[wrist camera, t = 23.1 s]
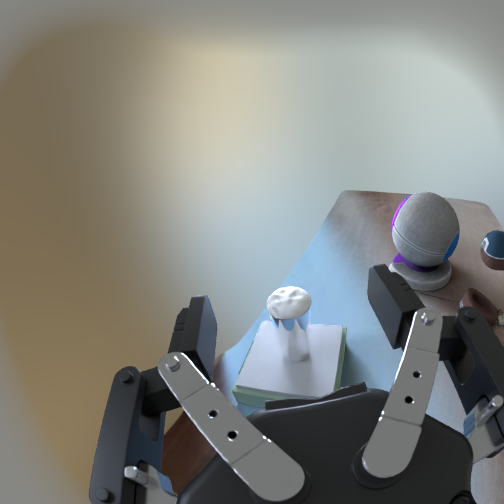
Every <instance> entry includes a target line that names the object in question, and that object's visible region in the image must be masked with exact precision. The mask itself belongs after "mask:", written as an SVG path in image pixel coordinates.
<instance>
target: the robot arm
mask: <svg viewBox="0 0 504 504" xmlns="http://www.w3.org/2000/svg"><path fill="white" fill-rule="evenodd" d="M367 293H368V300H369V303H370V305H371V306H372V308H373V310H374V312H375V314H376V316H377V318H378V320H379V322H380V324H381V326H382V328H383V330H384V332H385V334H386V336H387V338H388V340H389V342H390V344H391V346H392V348H393V349H397V348H400V347H401V348H402V350H403V352H404V353H403V356H402V359H401V362H400V365H399V368H398V371H397V374H396V377H395V380H394V382H393V385H392V388H391V390H390V393H389V392H387V391H384V390H380V389H373V388H367V387H366V384H365V382H362V383H358V384H354V385H350V386H346V387H342V388H339V389H337V390H335V391H333V392H331V393H329V394H326V395H324V396H322V397H319V398H315V399H313V398H291V397H290V398H283V399H276V400H268V401H265V408H263V409H260V410H258V411H256V412H254V413H252V414H251V415H249V416H248V417H247V418H245V417H244V416H243V415H242V414H241V413H240V412H239V411H238V410H237V409H236V408H235V407H234V406H233V405H232V403H231V402H230V401H229V400H228V399H227V398H226V397H225V396H224V395H223V394H222V393H221V392H220V391H219V390H218V389H217V387H216V386H215V385H214V384H213V383H212V381H213V369H214V358H215V347H216V336H217V322H216V318H215V316H214V312H213V309H212V307H211V303H210V301H209V298H208V296H207V295H202V296H195V297H192V298H191V301H190V305H189V308H183V309H182V310H181V312H180V313H179V314H178V316H177V319H176V325H175V327H174V332H173V335H172V339H171V343H170V347H169V351H168V354H167V355H165V356H164V357H163V358H162V359H161V360H160V361H159V363H158V366H157V367H155V368H153V369H149V370H146V371H143V372H140V371H139V370H138V368H136V367H133V366H128V367H125V368H122V369H121V370H120V371H118V372H117V373H116V375H115V377H114V380H113V383H112V386H111V391H110V394H109V398H108V401H107V405H106V409H105V413H104V417H103V421H102V426H101V430H100V435H99V439H98V444H97V448H96V453H95V458H94V464H93V469H92V475H91V482H90V488H89V498H90V501H91V503H92V504H476V502H475V500H474V498H473V496H472V494H471V484H470V483H471V471H472V466H473V464H475V463H477V462H478V461H480V460H482V459H484V458H492V457H494V456H495V455H497V454H498V453H500V452H501V451H503V450H504V347H503V345H502V344H501V342H500V341H499V339H498V338H497V336H496V335H495V333H494V331H493V330H492V328H491V327H490V326H489V324H488V323H487V321H486V320H485V318H484V317H483V315H482V314H481V313H480V311H479V310H477V309H476V308H474V307H471V306H464V307H461V308H460V309H459V310H458V313H457V315H456V316H442V315H441V314H440V313H439V312H438V311H437V310H435V309H433V308H427V307H425V306H424V304H423V303H422V302H421V300H420V299H419V297H418V296H417V295H416V293H415V292H414V291H413V290H412V288H411V287H410V285H409V284H408V282H407V281H406V280H405V279H404V277H403V276H401V275H400V274H398V273H397V272H391V271H390V270H389V269H388V267H387V266H386V265H385V264H380V265H375V266H370V268H369V277H368V290H367ZM470 353H471V354H470ZM438 361H443V362H444V364H445V366H446V368H447V370H448V373H449V375H450V377H451V379H452V381H453V384H454V386H455V388H456V390H457V393H458V395H459V397H460V400H461V402H462V405H463V407H464V410H465V412H466V415H467V416H466V418H465V420H464V424H463V426H464V435H463V434H461V433H460V432H458V431H456V430H454V429H453V428H451V427H449V426H447V425H445V424H443V423H442V422H440V421H438V420H436V419H435V418H433V417H431V416H429V415H427V414H426V410H427V406H428V403H429V399H430V395H431V392H432V388H433V384H434V380H435V375H436V371H437V366H438ZM179 407H183V409H184V410H185V412H186V413H187V414H188V416H189V417H190V418H191V420H192V421H193V422H194V424H195V425H196V426H197V427H198V429H199V430H200V431H201V433H202V434H203V435H204V436H205V438H206V439H207V440H208V441H209V442H210V444H211V445H212V446H213V447H214V448H215V450H216V451H217V452H216V453H215V454H214V455H213V456H212V457H211V458H210V459H209V461H208V462H207V463H206V464H205V465H204V466H203V467H202V468H201V469H200V470H199V472H198V473H197V474H196V475H195V476H194V477H193V478H192V479H191V480H190V481H189V482H188V483H187V484H186V485H185V486H184V487H183V488H182V490H181V491H180V492H179V494H178V496H176V495H175V494H174V493H173V491H172V487H171V482H170V479H169V478H168V477H167V476H166V475H165V474H164V473H162V472H161V459H162V447H163V436H164V426H165V415H166V411H169V410H173V409H176V408H179Z"/></svg>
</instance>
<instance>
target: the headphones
mask: <svg viewBox="0 0 504 504" xmlns="http://www.w3.org/2000/svg"><path fill="white" fill-rule="evenodd" d="M480 247H481V257H482V260H483V262H484V263H485V264H486V266H488V267H489V268H491V269H494V270H504V232H502V231H492V232H490V233H488V234H487V235H486V236H485V238H484V239H483V241H482V244H481V246H480ZM420 294H422V293H420ZM425 295H427V294H425ZM429 296H431V295H429ZM434 297H435V296H434ZM437 298H438V297H437ZM440 299H442V298H440ZM444 300H446V299H444ZM448 301H450V300H448ZM453 302H455V301H453ZM458 303H459V302H458ZM459 305H460V307H464V306H471V307H474V308H476V309H477V310H479V311H480V313H481V314H482V315H483V317H484V318H485V320H486V321H487V323H488V324H489V326H492V325H493V324H494V323H496V322H498V323H499V325H504V314H502V315H501V316H499V317H498V312H499V311H500V310H499V311H498V312H497V310H496V308H495V306H494V305H493V304H492V303H491V302H490V300H489V299H487V297H485V296H484V295H483V294H482V293H481V292H479V291H477V290H476V289H474V288H469V289H468V290H467V291H466V293H465V294H464V296H463V298H462V301H461V304H459ZM501 312H502V310H501ZM496 320H498V321H496Z"/></svg>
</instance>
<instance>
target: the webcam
mask: <svg viewBox="0 0 504 504" xmlns="http://www.w3.org/2000/svg"><path fill="white" fill-rule="evenodd" d="M459 233H460V230H459V222H458V218H457V215H456V213H455V211H454V209H453V208H452V206H451V205H450V204H449V203H448V202H447V201H446V200H445V199H444V198H442V197H441V196H439V195H436V194H434V193H430V192H420V193H416V194H412V195H410V196H409V197H407V198H406V199H405V200H403V202H402V203H401V204H400V206H399V207H398V209H397V211H396V213H395V215H394V217H393V221H392V236H393V241H394V244H395V246H396V248H397V250H398V251H399V254H398V255H397V256H396V257H395V258H394V260H393V263H392V264H390V267H389V270H390V271H391V272H397V273H398V274H400V275H401V276H403V277H404V279H405V280H406V281H407V282H408V284H409V285H410V287H411V288H412V289H415V290H421V291H431V290H436V289H439V288H441V287H443V286H445V285H446V284H447V283H448V282H449V280H450V277H451V270H452V268H451V263H450V261H449V260H448V258H449V257H450V256H451V255H452V253H453V252H454V250H455V248H456V246H457V243H458V240H459Z"/></svg>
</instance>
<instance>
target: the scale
mask: <svg viewBox="0 0 504 504" xmlns="http://www.w3.org/2000/svg"><path fill="white" fill-rule="evenodd" d="M346 331H347V328H346V327H343V326H337V325H317V324H310V337H309V352H308V354H307V356H306V358H304V359H303V360H301V361H299V362H289V361H288V360H286V359H284V358H283V355H282V351H281V348H280V344H279V341H278V338H277V334H276V331H275V329H274V326H273V324H272V321H263V322H262V323H261V325H260V327H259V330H258V332H257V334H256V337H255V339H254V340H253V342H252V345H251V347H250V349H249V352H248V354H247V356H246V358H245V361H244V363H243V365H242V367H241V370H240V372H239V376H238V378H237V380H236V382H235V384H234V387H233V389H232V393H233V395H234V397H235V399H236V401H237V403H242V404H247V405H252V406H257V407H262V408H265V401H268V400H276V399H283V398H290V397H291V398H313V399H315V398H319V397H322V396H324V395H326V394H329V393H331V392H333V391H335V390H337V389H339V388H340V382H341V375H342V368H343V360H344V352H345V344H346Z"/></svg>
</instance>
